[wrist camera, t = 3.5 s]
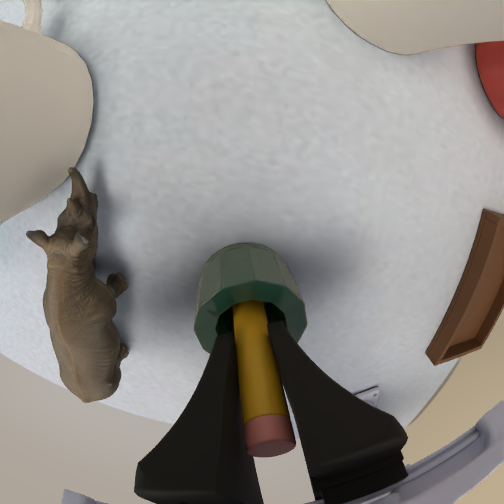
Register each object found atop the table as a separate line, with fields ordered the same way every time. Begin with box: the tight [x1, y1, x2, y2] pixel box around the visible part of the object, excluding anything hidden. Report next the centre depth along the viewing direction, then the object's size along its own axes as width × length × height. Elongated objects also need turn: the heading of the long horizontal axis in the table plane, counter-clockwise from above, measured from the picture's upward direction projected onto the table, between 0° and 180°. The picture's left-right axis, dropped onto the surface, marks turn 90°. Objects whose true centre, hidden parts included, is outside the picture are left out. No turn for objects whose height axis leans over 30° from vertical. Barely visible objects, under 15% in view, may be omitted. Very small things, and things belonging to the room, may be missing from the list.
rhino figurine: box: [26, 167, 129, 403], centre depth 12 cm, size 4×14×6 cm, turn 167°
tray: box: [426, 209, 504, 366], centre depth 18 cm, size 15×9×2 cm, turn 176°
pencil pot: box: [194, 243, 307, 354], centre depth 14 cm, size 5×5×4 cm
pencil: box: [232, 299, 296, 457], centre depth 11 cm, size 2×2×10 cm
